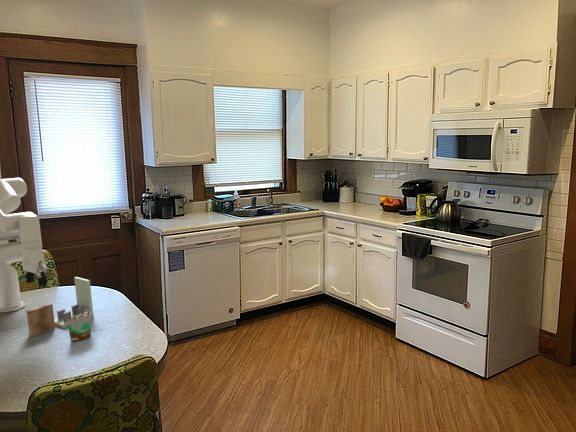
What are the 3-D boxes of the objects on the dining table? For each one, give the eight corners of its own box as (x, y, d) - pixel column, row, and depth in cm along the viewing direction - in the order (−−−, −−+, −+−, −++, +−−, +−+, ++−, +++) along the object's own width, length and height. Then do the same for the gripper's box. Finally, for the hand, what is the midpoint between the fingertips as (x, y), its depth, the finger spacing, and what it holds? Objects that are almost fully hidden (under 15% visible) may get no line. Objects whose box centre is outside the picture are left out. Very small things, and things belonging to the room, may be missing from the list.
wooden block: (33, 336, 207) (30, 311, 205) (29, 335, 209) (26, 310, 207) (55, 328, 215) (53, 304, 213) (52, 326, 217) (49, 302, 215)
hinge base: (63, 328, 215) (58, 289, 211) (50, 323, 220) (45, 285, 217) (93, 316, 227) (90, 280, 223) (80, 312, 232) (76, 276, 229)
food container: (82, 344, 199) (79, 320, 197) (68, 343, 200) (66, 320, 198) (99, 331, 211) (97, 309, 209) (86, 330, 212) (84, 308, 210)
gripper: (11, 244, 207) (17, 283, 210) (34, 248, 197) (39, 289, 200) (29, 240, 213) (34, 278, 216) (52, 244, 203) (57, 284, 206)
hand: (36, 284), depth 208 cm, fingers open, 9 cm apart
